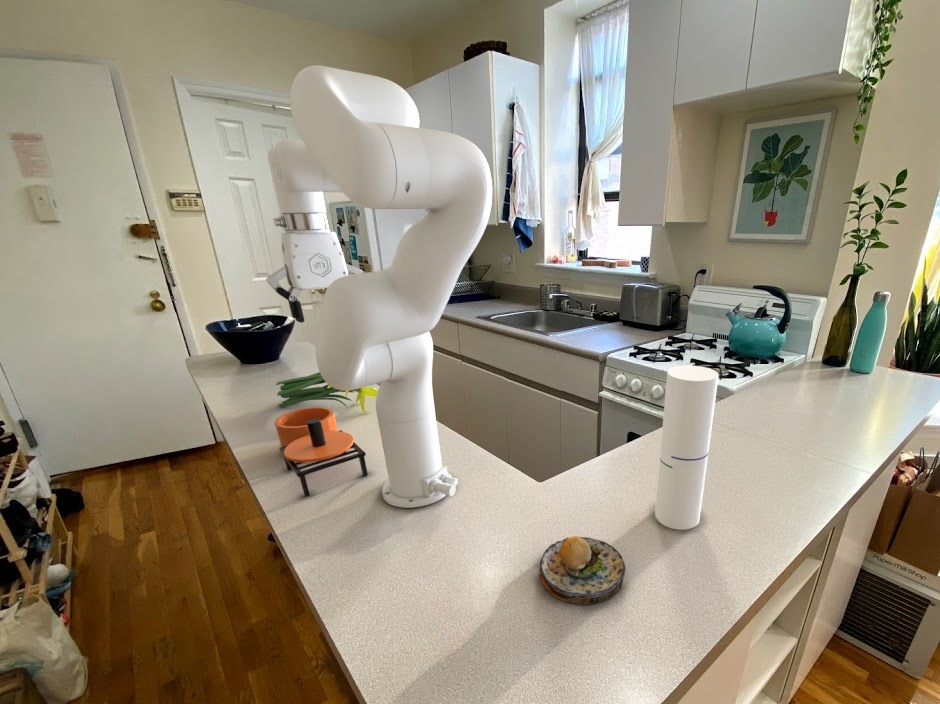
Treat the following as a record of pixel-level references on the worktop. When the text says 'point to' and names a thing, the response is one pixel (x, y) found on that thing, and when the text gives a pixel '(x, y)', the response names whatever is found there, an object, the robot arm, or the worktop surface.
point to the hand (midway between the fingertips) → (326, 317)
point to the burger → (582, 570)
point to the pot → (303, 423)
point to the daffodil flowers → (317, 391)
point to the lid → (318, 444)
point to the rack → (301, 474)
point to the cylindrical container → (685, 444)
